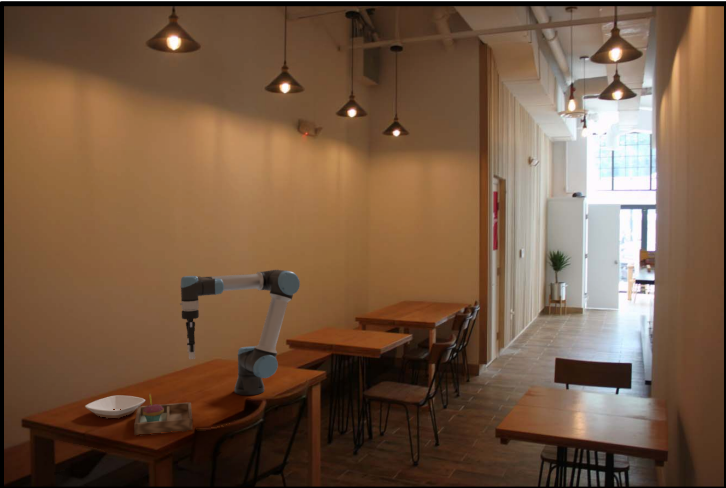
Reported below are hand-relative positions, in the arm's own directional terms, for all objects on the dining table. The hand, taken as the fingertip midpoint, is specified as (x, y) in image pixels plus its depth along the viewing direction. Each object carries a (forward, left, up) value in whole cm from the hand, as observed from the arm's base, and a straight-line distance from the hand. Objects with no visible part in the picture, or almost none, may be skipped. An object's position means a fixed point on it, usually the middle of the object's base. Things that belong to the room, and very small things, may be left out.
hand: (191, 355), depth 268 cm
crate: (+12, +16, -25) cm, 32 cm away
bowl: (+33, -4, -26) cm, 42 cm away
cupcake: (+16, +16, -24) cm, 33 cm away
